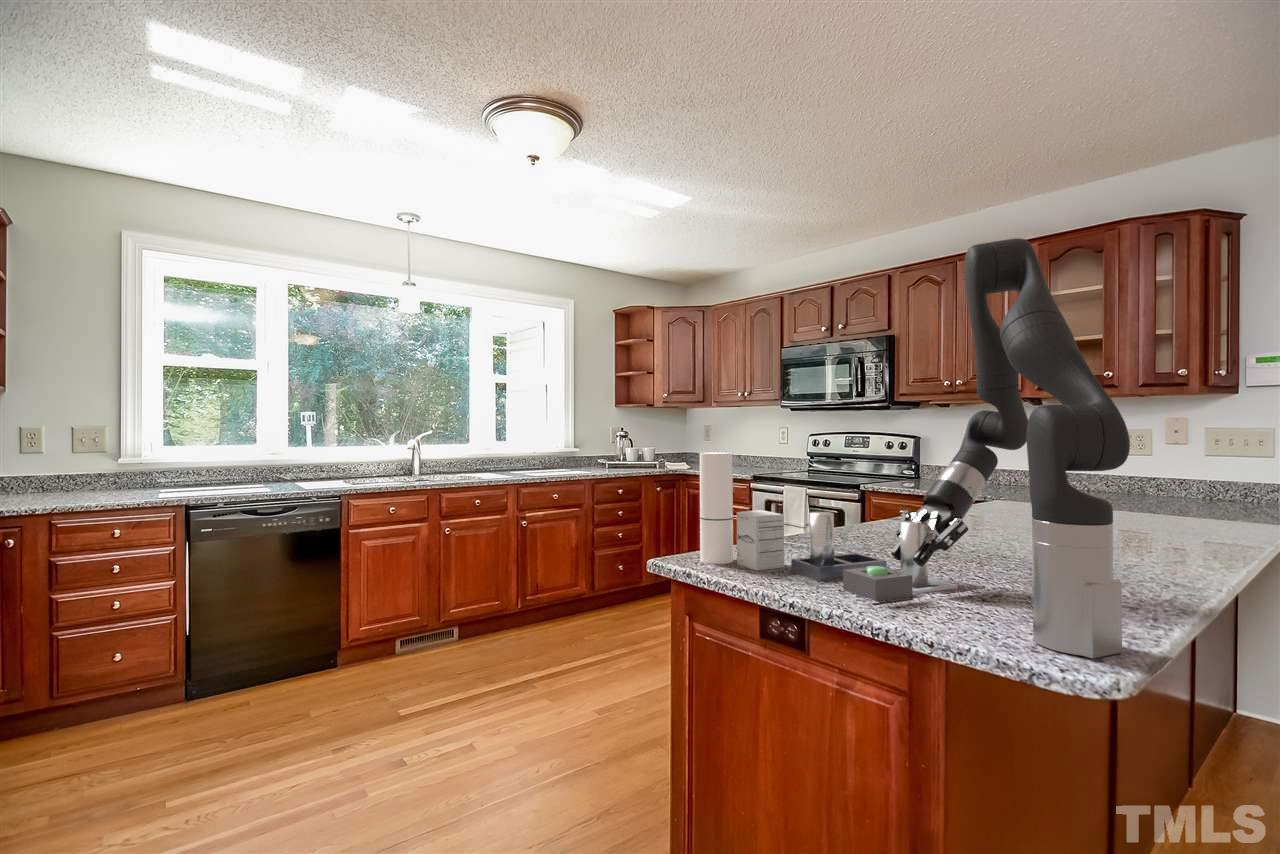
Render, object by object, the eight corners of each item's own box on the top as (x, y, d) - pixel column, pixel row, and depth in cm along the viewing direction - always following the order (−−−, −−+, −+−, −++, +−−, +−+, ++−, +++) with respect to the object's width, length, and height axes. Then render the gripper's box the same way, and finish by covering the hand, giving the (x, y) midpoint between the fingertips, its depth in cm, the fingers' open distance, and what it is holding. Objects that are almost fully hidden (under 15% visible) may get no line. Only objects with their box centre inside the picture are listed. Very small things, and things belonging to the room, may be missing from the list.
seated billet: (839, 575, 122) (838, 514, 122) (819, 578, 120) (819, 515, 120) (824, 570, 126) (823, 511, 126) (805, 573, 124) (804, 512, 124)
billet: (933, 589, 114) (933, 523, 114) (914, 592, 112) (913, 525, 112) (914, 583, 118) (913, 520, 118) (895, 586, 116) (894, 521, 116)
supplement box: (735, 570, 134) (735, 511, 134) (764, 567, 137) (763, 509, 137) (756, 578, 127) (755, 515, 127) (785, 574, 130) (785, 513, 130)
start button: (891, 586, 108) (891, 569, 108) (876, 588, 107) (876, 570, 107) (877, 582, 111) (877, 565, 111) (862, 584, 110) (862, 567, 110)
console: (912, 604, 107) (912, 575, 107) (875, 609, 104) (875, 579, 104) (878, 593, 114) (878, 566, 114) (843, 598, 111) (843, 569, 111)
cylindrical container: (732, 563, 140) (731, 452, 140) (734, 571, 133) (733, 453, 133) (700, 563, 141) (699, 452, 141) (700, 570, 134) (699, 453, 134)
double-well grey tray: (886, 581, 123) (886, 561, 123) (820, 589, 117) (819, 568, 117) (855, 571, 132) (855, 552, 132) (791, 578, 126) (791, 559, 126)
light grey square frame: (957, 596, 112) (957, 585, 112) (914, 602, 108) (914, 590, 108) (914, 583, 121) (914, 573, 121) (873, 588, 118) (873, 578, 118)
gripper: (914, 475, 124) (866, 540, 120) (977, 480, 111) (926, 554, 107) (934, 500, 126) (888, 565, 122) (998, 508, 113) (949, 582, 109)
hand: (906, 559), depth 114 cm, fingers closed on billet, 4 cm apart
